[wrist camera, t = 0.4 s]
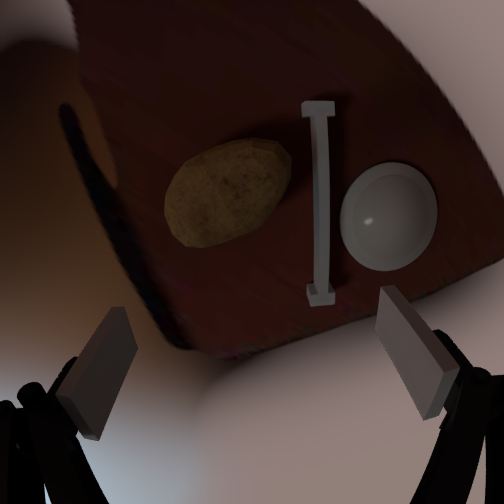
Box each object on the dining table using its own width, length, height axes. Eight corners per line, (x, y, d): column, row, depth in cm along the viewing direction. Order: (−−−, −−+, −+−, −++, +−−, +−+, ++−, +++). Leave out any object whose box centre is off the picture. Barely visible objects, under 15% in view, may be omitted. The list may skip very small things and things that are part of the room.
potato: (305, 185, 35) (321, 199, 27) (206, 250, 37) (196, 278, 30) (258, 114, 32) (261, 107, 24) (157, 185, 34) (134, 198, 27)
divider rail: (301, 103, 31) (306, 100, 29) (327, 103, 31) (334, 101, 28) (306, 294, 40) (310, 306, 37) (329, 292, 40) (334, 304, 37)
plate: (338, 161, 34) (340, 162, 33) (436, 164, 34) (440, 164, 33) (337, 272, 39) (339, 276, 38) (428, 263, 39) (431, 266, 38)
